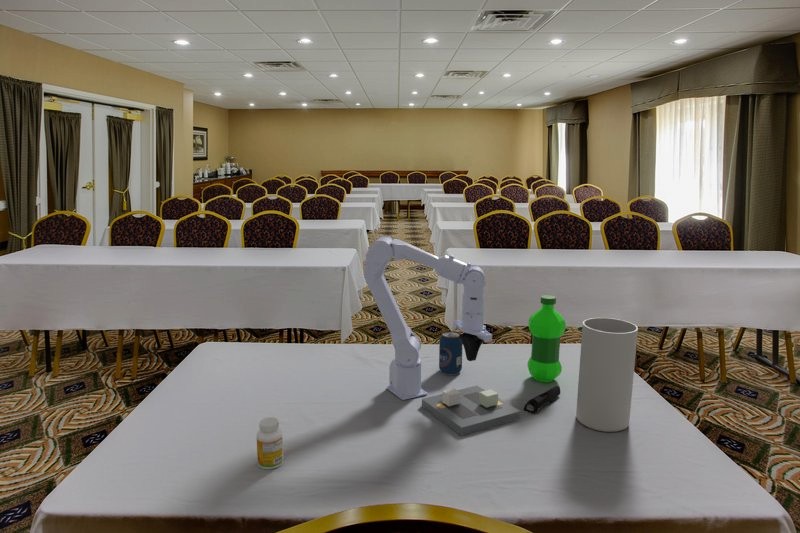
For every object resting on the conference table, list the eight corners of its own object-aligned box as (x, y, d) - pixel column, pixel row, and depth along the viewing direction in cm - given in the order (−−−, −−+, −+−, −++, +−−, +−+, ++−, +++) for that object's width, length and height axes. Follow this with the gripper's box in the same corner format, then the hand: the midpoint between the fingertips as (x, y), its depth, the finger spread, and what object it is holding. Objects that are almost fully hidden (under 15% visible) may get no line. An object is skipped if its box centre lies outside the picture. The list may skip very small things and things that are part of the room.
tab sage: (479, 402, 146) (479, 392, 145) (490, 400, 148) (490, 389, 147) (486, 407, 144) (486, 396, 143) (497, 404, 145) (498, 393, 145)
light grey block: (442, 401, 147) (442, 391, 146) (453, 399, 148) (454, 388, 148) (448, 406, 144) (449, 395, 143) (460, 403, 146) (460, 392, 145)
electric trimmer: (564, 397, 156) (564, 386, 156) (535, 415, 145) (536, 404, 144) (551, 393, 159) (552, 383, 158) (522, 411, 148) (523, 399, 147)
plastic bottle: (567, 378, 168) (573, 296, 163) (550, 389, 161) (556, 303, 156) (537, 369, 175) (541, 290, 170) (519, 379, 167) (523, 297, 162)
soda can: (434, 371, 173) (434, 333, 171) (449, 365, 178) (450, 328, 175) (451, 377, 168) (451, 339, 166) (466, 371, 173) (467, 334, 170)
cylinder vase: (590, 435, 135) (598, 334, 130) (567, 411, 147) (573, 318, 142) (639, 431, 137) (648, 332, 132) (612, 408, 149) (620, 316, 144)
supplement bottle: (260, 457, 125) (258, 416, 123) (284, 456, 125) (283, 415, 123) (256, 470, 119) (253, 428, 117) (282, 469, 120) (280, 427, 118)
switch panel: (421, 405, 150) (421, 398, 149) (476, 392, 158) (477, 385, 158) (461, 435, 134) (461, 427, 134) (520, 418, 143) (520, 410, 143)
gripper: (502, 316, 147) (500, 365, 150) (468, 303, 159) (467, 349, 162) (480, 320, 143) (478, 370, 146) (448, 306, 156) (446, 353, 159)
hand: (471, 359), depth 154 cm, fingers closed
